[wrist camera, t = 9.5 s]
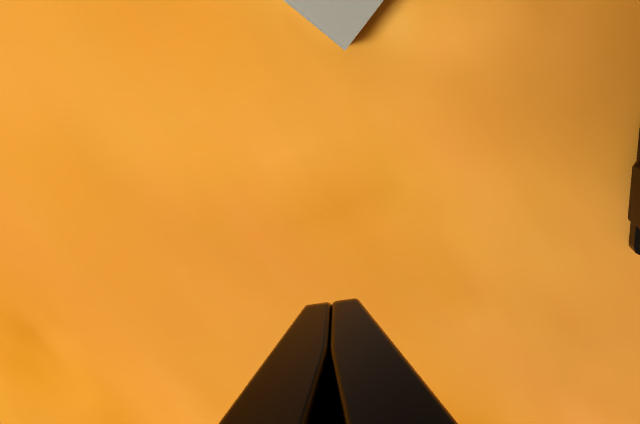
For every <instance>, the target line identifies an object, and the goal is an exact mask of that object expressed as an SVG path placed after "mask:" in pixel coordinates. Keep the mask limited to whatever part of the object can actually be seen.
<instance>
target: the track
mask: <svg viewBox="0 0 640 424" xmlns="http://www.w3.org/2000/svg"><path fill="white" fill-rule="evenodd" d="M284 1H285V2H286V3H288V4H289V5H290V6H291V7H292V8H294V9H295V10H296V11H297V12H299V13H300V14H301V15H302V16H303V17H305V18H306V19H307V20H308V21H309V22H311V23H312V24H313V25H314V26H316V27H317V28H318V29H319V30H320V31H322V32H323V33H324V34H325V35H327V36H328V37H329V38H330V39H331V40H333V41H334V42H335V43H336V44H338V45H339V46H340V47H341V48H342V49H344V50H346V49H347V47H348V46H349V45H350V44H351V42H352V41H353V40H354V38H355V37H356V36H357V34H358V33H359V32H360V30H361V29H362V28H363V27H364V25H365V24H366V23H367V21H368V20H369V19H370V17H371V16H372V15H373V14H374V12H375V11H376V10H377V8H378V7H379V6H380V4H381V3H382V2H383V0H284Z"/></svg>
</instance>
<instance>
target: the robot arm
mask: <svg viewBox="0 0 640 424" xmlns="http://www.w3.org/2000/svg"><path fill="white" fill-rule="evenodd" d="M628 219H629V220H630V221H631V224H630V235H629V246H630V248H631V249H632V250H633V251H634V252H635V253H637V254H639V255H640V130H639V140H638V151H637V161H636V162H635V164H634V165H633V167H632V178H631V189H630V200H629V211H628ZM219 424H458V423H457V422H456V421H455V419H454V418H453V417H452V416H451V414H450V413H449V412H448V411H447V409H446V408H445V407H444V406H443V404H442V403H441V402H440V401H439V399H438V398H437V397H436V396H435V395H434V393H433V392H432V391H431V390H430V388H429V387H428V386H427V385H426V383H425V382H424V381H423V380H422V378H421V377H420V376H419V375H418V373H417V372H416V371H415V370H414V368H413V367H412V366H411V365H410V363H409V362H408V361H407V360H406V358H405V357H404V356H403V355H402V353H401V352H400V351H399V350H398V348H397V347H396V346H395V345H394V343H393V342H392V341H391V340H390V339H389V337H388V336H387V335H386V334H385V332H384V331H383V330H382V329H381V327H380V326H379V325H378V324H377V322H376V321H375V320H374V319H373V317H372V316H371V315H370V314H369V312H368V311H367V310H366V309H365V307H364V306H363V305H362V304H361V302H360V301H359V300H358V299H347V300H340V301H335V302H334V303H333V304H332V305H331V304H330V303H328V302H326V303H319V304H312V305H307V306H306V307H304V309H303V310H302V311H301V313H300V314H299V315H298V317H297V318H296V319H295V321H294V322H293V324H292V325H291V326H290V328H289V329H288V330H287V332H286V333H285V334H284V336H283V337H282V338H281V340H280V341H279V343H278V344H277V345H276V347H275V348H274V349H273V351H272V352H271V353H270V355H269V356H268V357H267V359H266V360H265V361H264V363H263V364H262V366H261V367H260V368H259V370H258V371H257V372H256V374H255V375H254V376H253V378H252V379H251V380H250V382H249V383H248V385H247V386H246V387H245V389H244V390H243V391H242V393H241V394H240V395H239V397H238V398H237V399H236V401H235V402H234V404H233V405H232V406H231V408H230V409H229V410H228V412H227V413H226V414H225V416H224V417H223V418H222V420H221V421H220V423H219Z"/></svg>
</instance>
